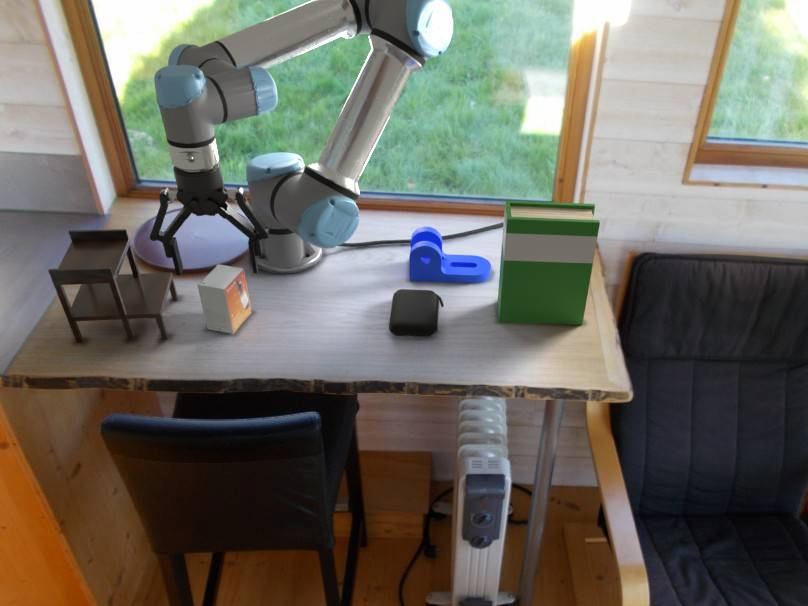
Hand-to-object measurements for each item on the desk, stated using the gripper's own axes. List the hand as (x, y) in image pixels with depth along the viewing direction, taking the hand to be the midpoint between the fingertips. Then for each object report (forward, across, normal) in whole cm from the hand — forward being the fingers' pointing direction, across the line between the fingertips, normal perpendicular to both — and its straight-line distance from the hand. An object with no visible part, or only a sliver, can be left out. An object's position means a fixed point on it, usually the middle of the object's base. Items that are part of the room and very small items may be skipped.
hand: (218, 270), depth 139 cm
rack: (+12, -19, +2) cm, 22 cm away
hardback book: (+12, +63, -2) cm, 64 cm away
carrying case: (+12, +37, -2) cm, 39 cm away
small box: (+12, 0, 0) cm, 12 cm away
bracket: (+12, +46, +15) cm, 50 cm away
